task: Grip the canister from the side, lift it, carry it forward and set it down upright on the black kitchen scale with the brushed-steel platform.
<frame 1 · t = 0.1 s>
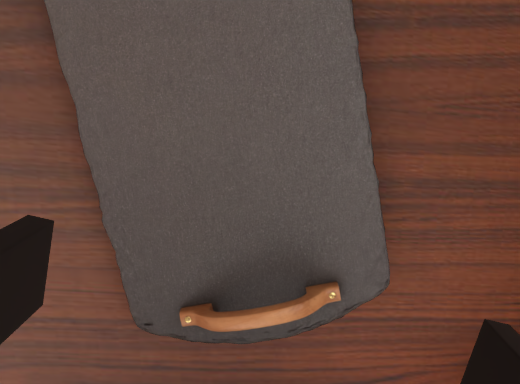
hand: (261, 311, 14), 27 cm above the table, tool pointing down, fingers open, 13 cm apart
serving tray: (225, 121, 39), on the table
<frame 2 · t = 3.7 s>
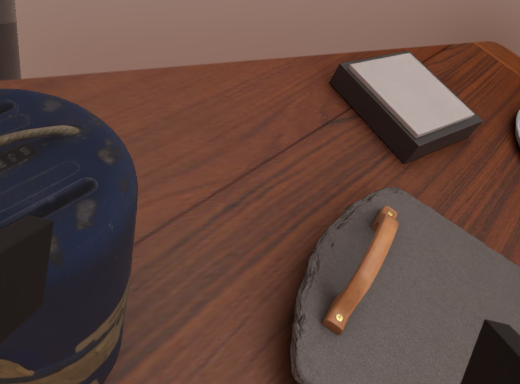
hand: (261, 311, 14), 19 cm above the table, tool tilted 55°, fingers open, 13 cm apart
scale: (400, 110, 58), on the table
canister: (40, 348, 29), on the table, touching gripper
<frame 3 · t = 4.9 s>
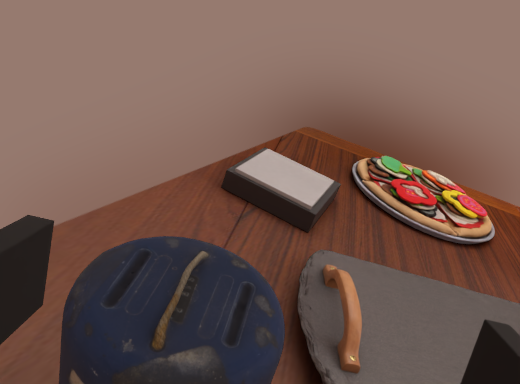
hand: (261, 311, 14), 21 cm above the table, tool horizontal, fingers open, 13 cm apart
toy pizza: (418, 201, 87), on the table
scale: (280, 193, 70), on the table
serving tray: (462, 372, 48), on the table
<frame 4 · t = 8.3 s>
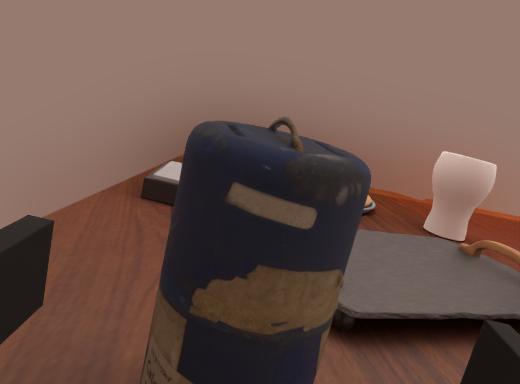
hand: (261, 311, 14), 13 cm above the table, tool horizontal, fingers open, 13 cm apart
cup: (443, 234, 88), on the table
scale: (196, 197, 73), on the table
serving tray: (405, 287, 56), on the table
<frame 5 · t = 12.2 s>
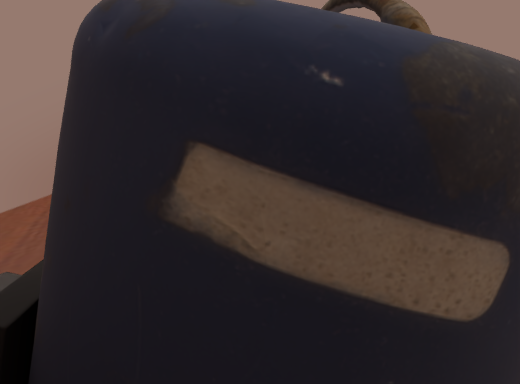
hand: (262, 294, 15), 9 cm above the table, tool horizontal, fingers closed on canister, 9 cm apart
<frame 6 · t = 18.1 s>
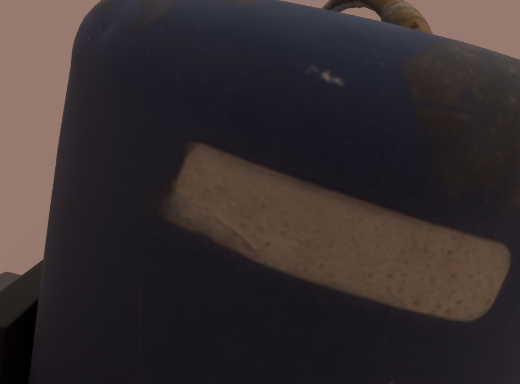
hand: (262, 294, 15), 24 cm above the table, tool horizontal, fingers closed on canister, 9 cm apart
when the fingers open (13 cm above the table, at t = 24.5 s): canister stays where it is, resting on scale.
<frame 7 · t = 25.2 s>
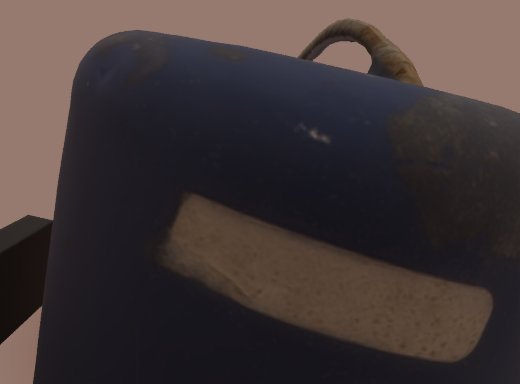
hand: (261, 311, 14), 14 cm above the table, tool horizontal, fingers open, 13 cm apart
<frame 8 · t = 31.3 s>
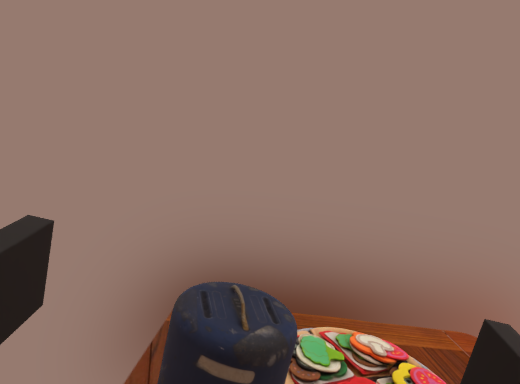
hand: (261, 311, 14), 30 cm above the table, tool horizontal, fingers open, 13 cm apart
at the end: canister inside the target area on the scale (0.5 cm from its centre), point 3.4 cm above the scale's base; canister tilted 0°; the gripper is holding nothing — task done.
